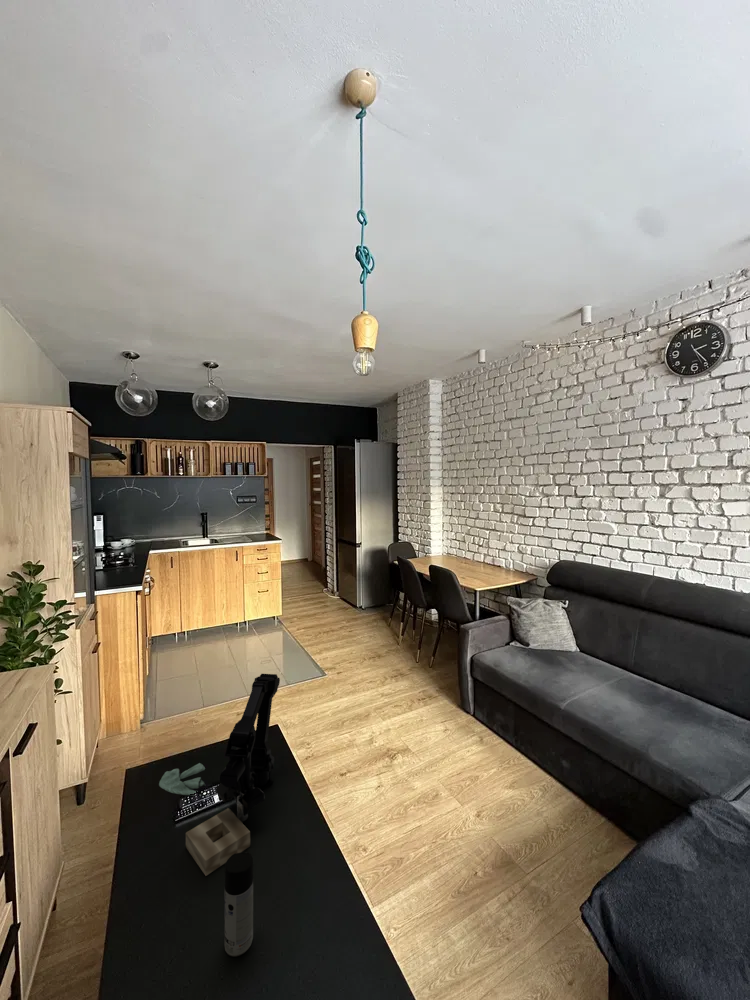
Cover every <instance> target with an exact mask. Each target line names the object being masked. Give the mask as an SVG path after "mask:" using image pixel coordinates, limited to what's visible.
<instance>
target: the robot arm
mask: <svg viewBox="0 0 750 1000" xmlns="http://www.w3.org/2000/svg"><path fill="white" fill-rule="evenodd" d="M253 680H254V681H253V683H252V685H251V690H250V691H251V692H250V694H249V696H248V700H247V703H246V705H245V707H244V711H243V714H242V716H241V719H239V720H238V721H237V722H236V723H235V725H234V727H233V729H232V730H231V732H230V734H229V737H228V742H227V746H226V751H225V755H224V757H229V761H228V762H227V763H226V765H225V767H224V768H223V770H222V771H221V773H220V775H219V781H220V783H219V784H218V785H217V786H216V788H215V792H216V794H217V796H218V797H219V799H220V800H221V801H222V802H223V803H226V802H227V801H231V800H233V799H234V800H235V804H236V805H237V794H238V793H239V792H241V793H242V794H243V795H244V796H243V797H242V798H241V799H239V800H238V801H239V802H240V803H241V804H242V807H243V814H244V816H245V815H247V813H248V814H249V811H250V810H251V809H252V808H254V807H256V806H257V805H260V804H261V803H262V802H264V801H265V799H266V796H265V794H266V793H265V792H264V791H263V790H264V789H265V788H266V787H269V786H270V785H272V784H273V783H274V781H273V780H272V779H271V770H273V769H274V766H275V757H274V756H273V755H272V754H271V752H272V750H271V749H272V748H271V745H270V743H269V741H268V739H269V731H270V730H269V729H270V722H271V712H272V703H273V698H274V697H275V695H276V694H277V692H278V688H279V686H280V682H281V680H280V677H278V674H275V673H274V674H273V673H261V674H260V675H259V676H257V677H255V678H254V679H253ZM256 720H257V721H256ZM255 723H256V726H255ZM233 748H236V749H233Z"/></svg>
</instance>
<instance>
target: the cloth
mask: <svg viewBox="0 0 750 1000" xmlns="http://www.w3.org/2000/svg"><path fill="white" fill-rule="evenodd" d="M205 769H206V768H205V766H204V765H203V764H202V763H200V762H199V763H197V764H195V765H193V766H191V767H190V768H188V769H186V770H184V771H182V773H180V769H179V768H174V769H172V770H169V771H168V770H167V771H165V772H164V774H163V775H162V776H161V779H160V780H159V783H158V786H159V787H160V788H161V789H163V790H165V791H166V792H168V793H171V794H176V795H183V796H191V795H190V794H194V793H196V791H197V790H194V789H199V788H200V787H206V784H205V781H203V780H202V777H201V776H200V777H195V778H192V779H188V780H185V781H182V779H185V778H188V777H190V776H193V775H197V774H199V773H200V772H203V771H205Z"/></svg>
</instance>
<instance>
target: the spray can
mask: <svg viewBox="0 0 750 1000" xmlns="http://www.w3.org/2000/svg"><path fill="white" fill-rule="evenodd" d="M223 924H224V927H223V928H224V930H223V931H224V939H223V940H224V951H225V953H226V954H227V955H228V956H230V957H231V958H232V957H233V958H234V957H236V958H237V957H240V956H242V955H243V954H246V953H247V951H248V950H249V949H250V948H251V945H252V943H253V939H254V857H253V855H252V854H251V853H250V852H245V851H242V852H241V853H237V854H236V853H235V854H233V855H232V856H231V857H230V858H229V859H228V860H227V862H226V863H225V864H224V921H223Z"/></svg>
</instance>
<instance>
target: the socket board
mask: <svg viewBox="0 0 750 1000" xmlns="http://www.w3.org/2000/svg"><path fill="white" fill-rule="evenodd" d="M249 847H251V831H250V830H249V829H248V828H247V827H246V825H244V824H243V822H241V821H240V820H239V819H238V818H237V815H236V814H235V813H234V812H233V811H232V810H231V809H230V807H228V808H226V809H224V810H222V811H220V812H219V813H217V814H215V815H214V816H212V817H211V818H208V819H207V820H205V821H203V822H202V823H200V824H198V825H196V826H195V827H193V828H192V829H190V830H188V831H186V832H185V848H186V849H187V851H188V852H189V854H190V855H191V857H192V858H193V860H194V862H195V863H196V864H197V866H198V867H199V868H200V870H201V871H202V873H203V874H204V875H205V877H206V876H208V875H210V874H211V873H212V872H214V871H216V870H217V869H219V868H220V867H221V866H223V865H225V864H226V862H227V860H228V859H229V858H230V857H231V856H232V855H233V854H235V853H236V854H237V853H241V852H245V850H246V849H248V848H249Z"/></svg>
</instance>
